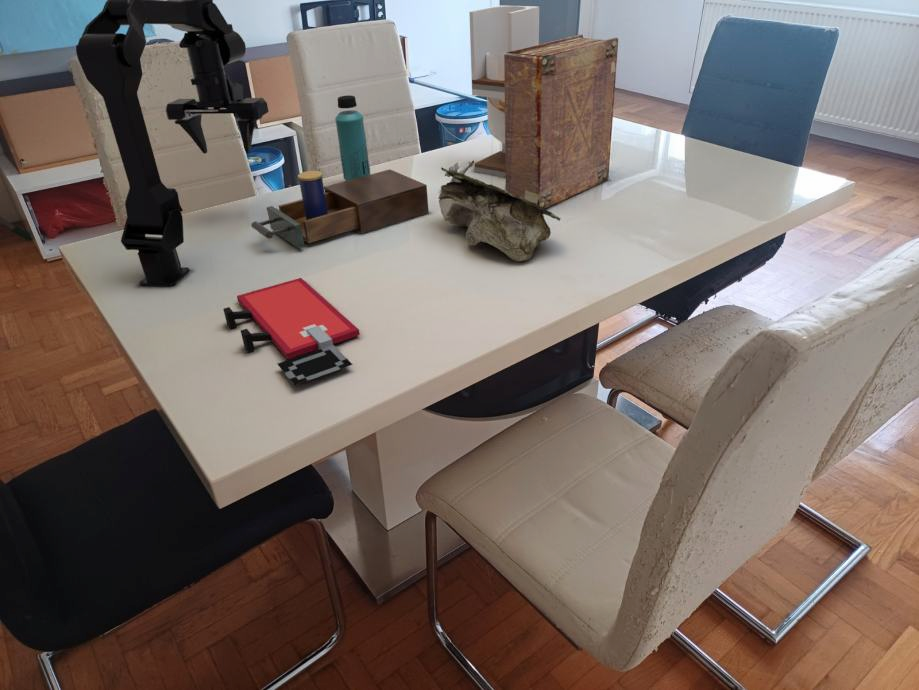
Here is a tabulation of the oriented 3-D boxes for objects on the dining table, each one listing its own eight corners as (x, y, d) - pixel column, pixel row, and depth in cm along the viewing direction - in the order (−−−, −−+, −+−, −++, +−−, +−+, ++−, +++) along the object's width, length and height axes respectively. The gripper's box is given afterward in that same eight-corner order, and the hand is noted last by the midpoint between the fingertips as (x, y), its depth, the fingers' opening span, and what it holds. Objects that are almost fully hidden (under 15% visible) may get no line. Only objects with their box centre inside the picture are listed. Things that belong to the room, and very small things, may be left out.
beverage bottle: (367, 189, 156) (356, 99, 145) (339, 188, 157) (327, 99, 147) (375, 180, 161) (365, 93, 151) (349, 179, 163) (337, 93, 152)
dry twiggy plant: (449, 204, 146) (429, 179, 151) (462, 216, 151) (443, 192, 156) (483, 171, 144) (462, 147, 148) (495, 184, 149) (475, 161, 153)
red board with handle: (282, 396, 88) (383, 359, 95) (278, 378, 87) (381, 342, 94) (215, 309, 110) (302, 285, 117) (211, 294, 108) (299, 270, 115)
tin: (325, 228, 133) (317, 178, 127) (303, 227, 133) (294, 178, 128) (332, 219, 136) (325, 170, 131) (310, 218, 137) (302, 170, 132)
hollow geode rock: (449, 239, 141) (400, 201, 131) (483, 188, 141) (437, 146, 130) (534, 284, 120) (484, 242, 110) (574, 224, 120) (528, 177, 110)
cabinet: (361, 234, 134) (357, 204, 130) (328, 215, 143) (323, 186, 140) (428, 213, 142) (426, 184, 138) (392, 196, 151) (390, 169, 148)
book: (575, 172, 160) (582, 34, 144) (608, 180, 154) (619, 37, 138) (505, 203, 145) (503, 52, 129) (539, 212, 139) (541, 56, 123)
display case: (500, 158, 171) (498, 5, 152) (536, 165, 166) (539, 6, 147) (474, 171, 163) (469, 11, 145) (511, 178, 158) (511, 13, 139)
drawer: (275, 255, 125) (270, 232, 122) (248, 235, 134) (243, 213, 131) (368, 226, 135) (366, 204, 132) (337, 209, 144) (334, 188, 141)
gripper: (271, 61, 133) (285, 141, 141) (183, 63, 135) (202, 142, 144) (248, 72, 123) (265, 157, 132) (154, 74, 126) (176, 157, 134)
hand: (226, 152), depth 136 cm, fingers open, 9 cm apart
